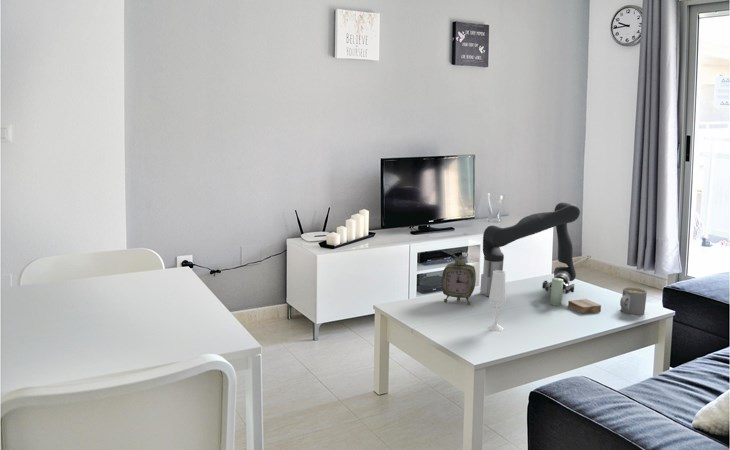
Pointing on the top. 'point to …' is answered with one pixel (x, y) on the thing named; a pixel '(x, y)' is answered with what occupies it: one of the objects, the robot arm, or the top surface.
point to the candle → (556, 292)
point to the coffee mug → (633, 300)
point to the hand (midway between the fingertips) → (556, 290)
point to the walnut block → (584, 306)
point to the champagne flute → (497, 295)
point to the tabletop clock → (458, 279)
